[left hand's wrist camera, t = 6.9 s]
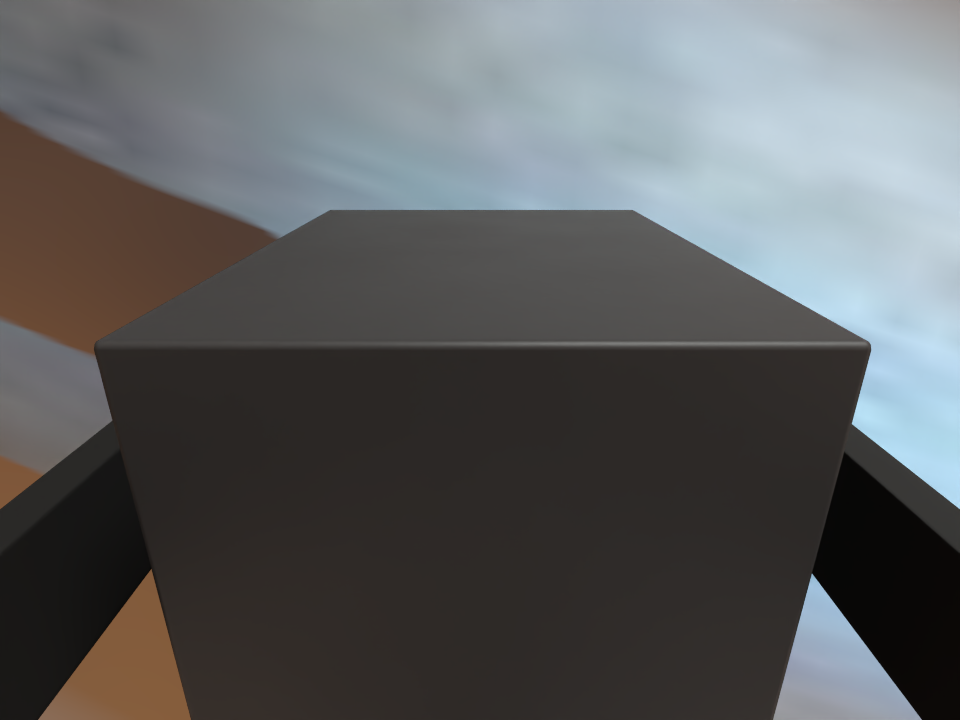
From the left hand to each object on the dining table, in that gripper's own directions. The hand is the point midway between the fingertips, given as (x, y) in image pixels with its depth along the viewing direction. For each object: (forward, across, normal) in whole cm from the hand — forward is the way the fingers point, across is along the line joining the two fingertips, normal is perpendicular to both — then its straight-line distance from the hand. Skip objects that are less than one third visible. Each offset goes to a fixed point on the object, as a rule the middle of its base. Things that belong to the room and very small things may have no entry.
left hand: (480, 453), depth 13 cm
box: (+6, 0, -9) cm, 11 cm away
